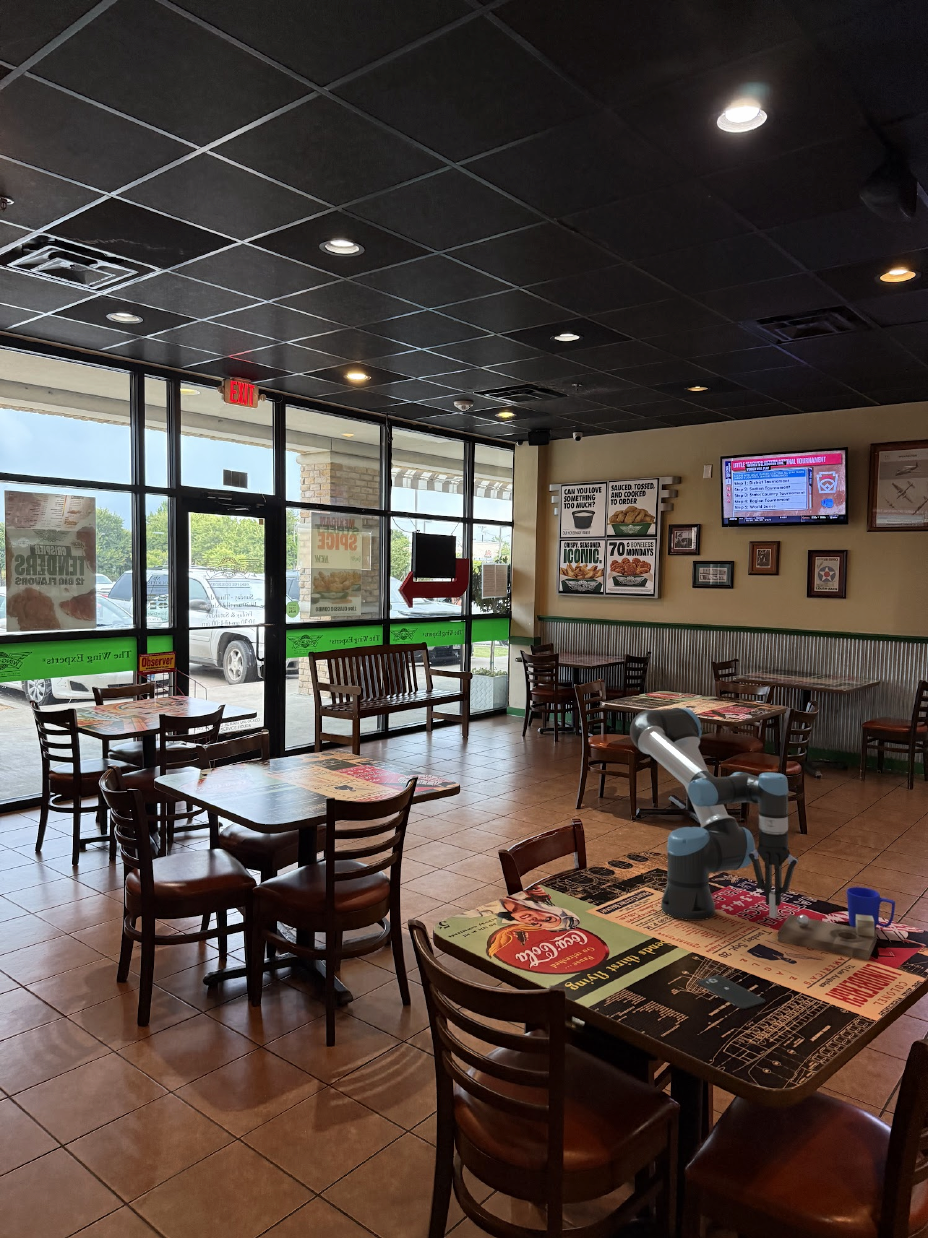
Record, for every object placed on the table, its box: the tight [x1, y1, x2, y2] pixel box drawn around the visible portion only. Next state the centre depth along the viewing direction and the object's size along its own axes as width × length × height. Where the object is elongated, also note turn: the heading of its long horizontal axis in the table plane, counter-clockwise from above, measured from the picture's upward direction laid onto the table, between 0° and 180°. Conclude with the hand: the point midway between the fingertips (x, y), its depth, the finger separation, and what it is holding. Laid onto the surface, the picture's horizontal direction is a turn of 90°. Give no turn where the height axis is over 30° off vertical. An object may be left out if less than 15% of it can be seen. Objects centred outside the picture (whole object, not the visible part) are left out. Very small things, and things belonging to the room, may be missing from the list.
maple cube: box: [856, 914, 875, 937], centre depth 225 cm, size 4×4×4 cm
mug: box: [846, 886, 896, 931], centre depth 233 cm, size 8×12×10 cm
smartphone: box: [696, 974, 766, 1010], centre depth 198 cm, size 8×15×1 cm, turn 27°
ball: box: [797, 914, 810, 927], centre depth 229 cm, size 3×3×3 cm
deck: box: [777, 914, 878, 961], centre depth 226 cm, size 22×14×2 cm, turn 57°
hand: (773, 916), depth 233 cm, fingers closed
